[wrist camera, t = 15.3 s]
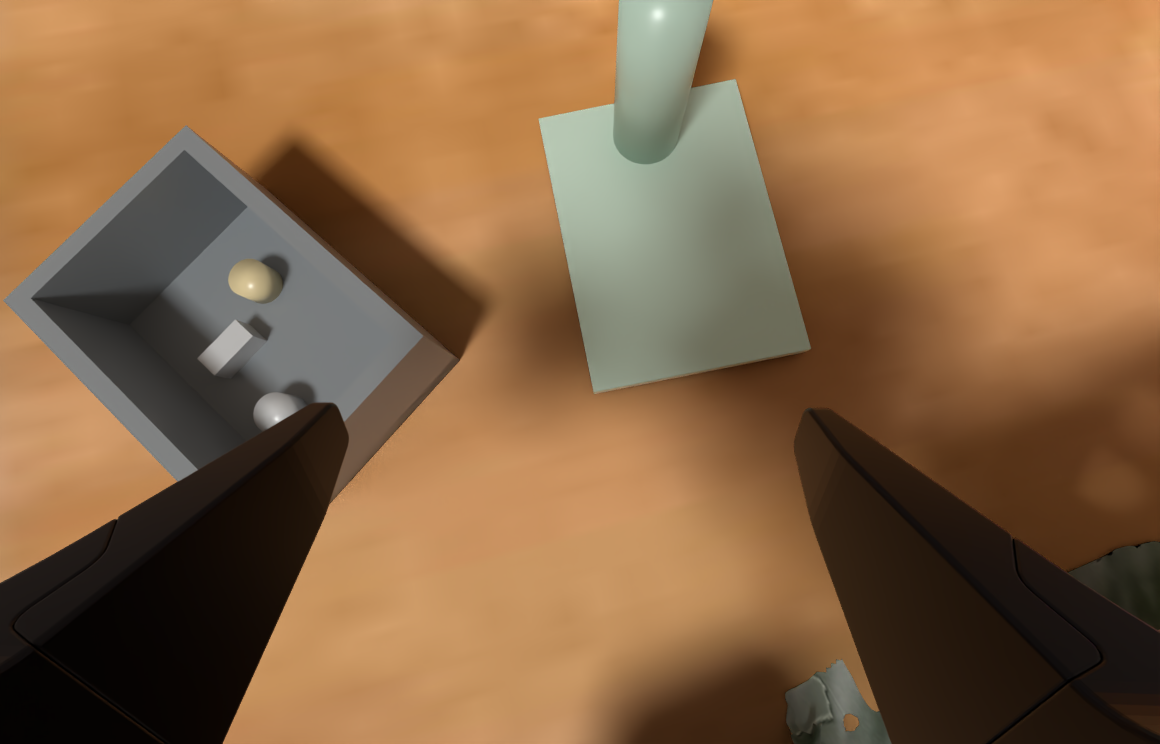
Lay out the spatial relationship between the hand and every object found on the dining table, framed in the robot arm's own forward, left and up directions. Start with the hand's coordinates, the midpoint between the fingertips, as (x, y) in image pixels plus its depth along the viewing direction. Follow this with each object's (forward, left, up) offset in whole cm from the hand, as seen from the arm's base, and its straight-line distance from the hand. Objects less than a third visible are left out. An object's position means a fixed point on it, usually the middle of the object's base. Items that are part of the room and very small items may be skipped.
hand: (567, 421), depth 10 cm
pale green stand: (+10, +3, -13) cm, 17 cm away
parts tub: (-6, +14, -14) cm, 20 cm away
